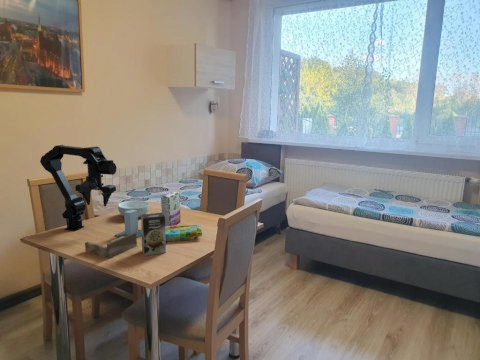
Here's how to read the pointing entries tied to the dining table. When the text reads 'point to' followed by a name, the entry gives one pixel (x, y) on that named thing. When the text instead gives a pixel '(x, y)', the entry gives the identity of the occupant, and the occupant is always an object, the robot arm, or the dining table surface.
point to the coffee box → (153, 233)
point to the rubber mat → (126, 235)
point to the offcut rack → (113, 246)
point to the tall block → (131, 222)
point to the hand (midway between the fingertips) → (96, 205)
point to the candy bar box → (171, 208)
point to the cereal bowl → (134, 207)
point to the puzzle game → (182, 232)
